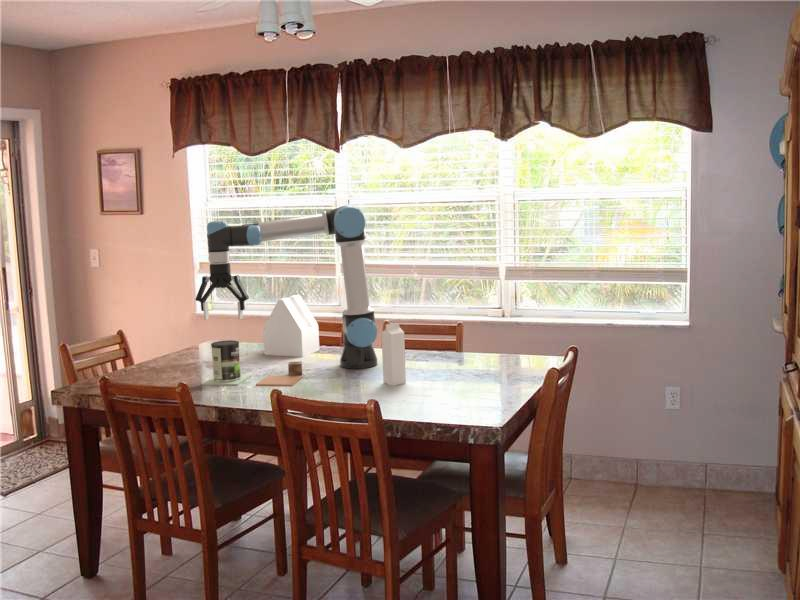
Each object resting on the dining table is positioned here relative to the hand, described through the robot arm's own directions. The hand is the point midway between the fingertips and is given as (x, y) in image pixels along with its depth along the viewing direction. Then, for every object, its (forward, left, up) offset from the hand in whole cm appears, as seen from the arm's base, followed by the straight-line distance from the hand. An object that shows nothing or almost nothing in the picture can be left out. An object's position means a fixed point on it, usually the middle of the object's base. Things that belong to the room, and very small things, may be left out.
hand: (223, 319), depth 295 cm
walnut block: (-24, -10, -24) cm, 35 cm away
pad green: (0, 0, -24) cm, 24 cm away
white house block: (-9, -54, -24) cm, 60 cm away
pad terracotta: (-21, 0, -24) cm, 32 cm away
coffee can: (0, 0, -23) cm, 23 cm away
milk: (-65, +1, -24) cm, 69 cm away
